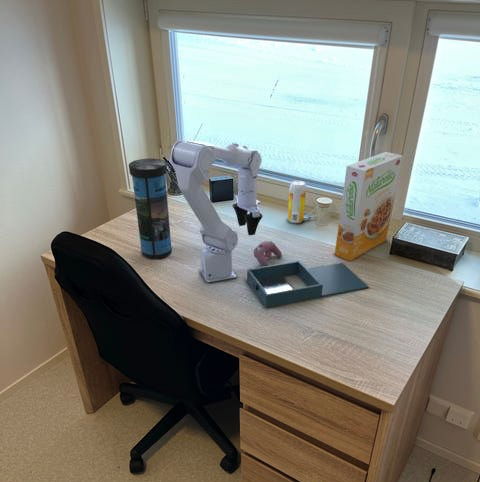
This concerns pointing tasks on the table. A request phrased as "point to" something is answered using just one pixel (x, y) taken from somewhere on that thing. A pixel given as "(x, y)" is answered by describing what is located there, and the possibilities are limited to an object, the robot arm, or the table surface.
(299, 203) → the beer can
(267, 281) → the silver plate
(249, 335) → the table surface
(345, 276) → the box
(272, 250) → the video game controller
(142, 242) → the advertising column
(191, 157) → the robot arm
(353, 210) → the cereal box
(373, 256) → the table surface
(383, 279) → the table surface
